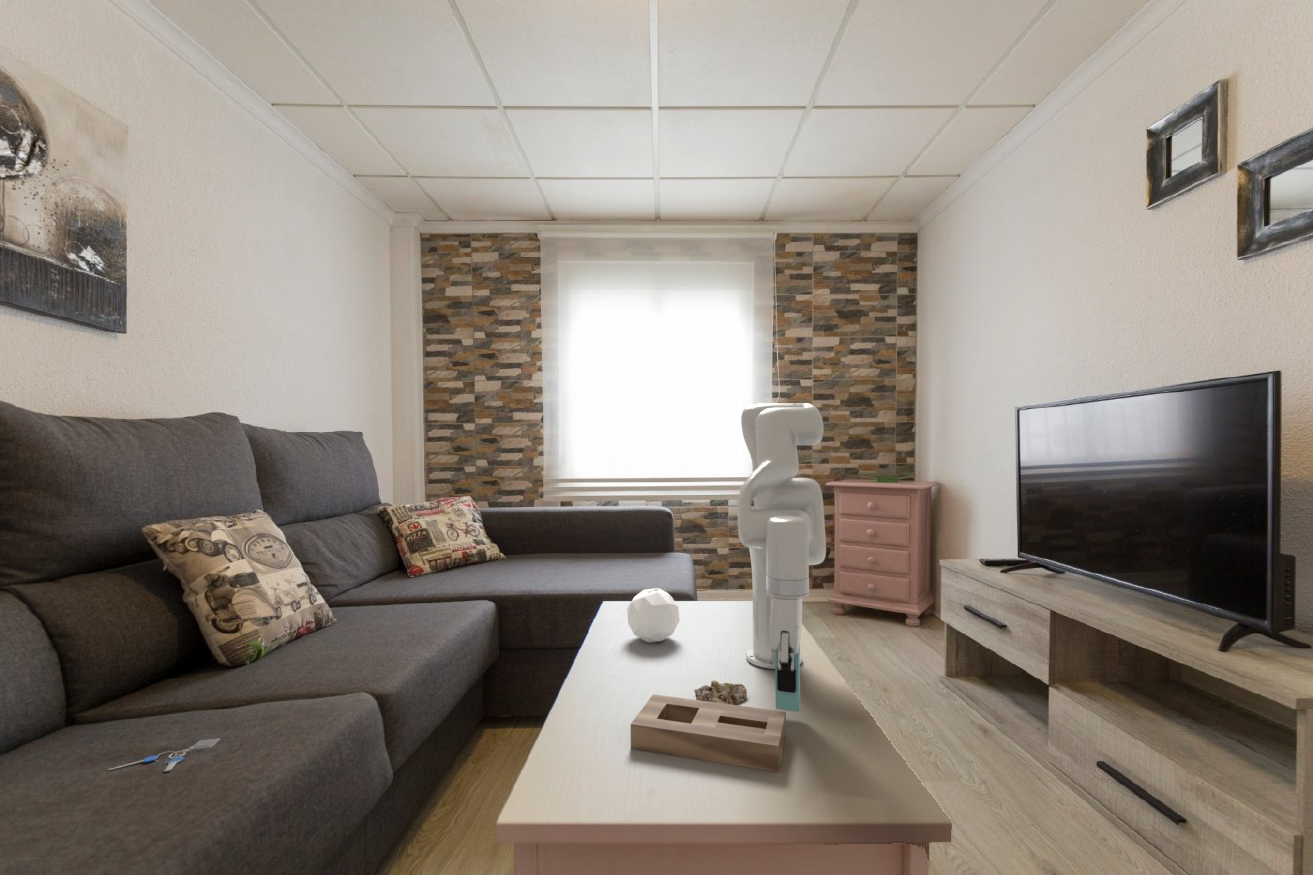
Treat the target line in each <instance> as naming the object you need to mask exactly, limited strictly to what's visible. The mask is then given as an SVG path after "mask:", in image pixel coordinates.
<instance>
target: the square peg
mask: <svg viewBox="0 0 1313 875" xmlns="http://www.w3.org/2000/svg"><path fill="white" fill-rule="evenodd" d="M789 652H792V649H789ZM800 655H801V643H800V644H799V649H798V653H797V654H796V655H794V669H795V670H796V692H795V693H791V692H783V691H778V689H777V668H778V648H777V651H776V652H775V662H776V669H775V710H778V711H785V712H786V711H790V712H796V713H799V711H800V705H801V664H800ZM788 657H789V659H790V660H791V656H788Z"/></svg>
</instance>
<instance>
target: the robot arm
mask: <svg viewBox="0 0 1313 875" xmlns="http://www.w3.org/2000/svg"><path fill="white" fill-rule="evenodd" d="M740 418H741V420H740V423H741V430H742V435H743V439H744V443H745V446H746V448H747V450H748V453H749V456H750V460H751V462H752V473H751V474H750V475H749V476H748V477H747V478H746V480H745V481H744V483H743V484H742V486H741V488H740V490H739V493H738V497H737V531H738V538H739V540H740V542H741V544H742V545H743V546H744V547H746V548H748V550H749V555H750V563H751V579H752V648H749V649H748V650H747V651H746V656H745V657H746V660H747V661H748V662H749V663H750V664H751V665H753V666H757V667H760V668H764V669H770V670H776V662H775V652H776V651H777V648H778V668H777V689H778V691H783V692H791V693H795V692H796V670H795V669H794V655H796V654H797V653H798V649H799V644H800V645H801V636H802V626H803V599H804V598H807V597H809V595H810V572H809V571H810V569H809V566H814V565H815V566H816V565H819V564H822V563H823V562H824V560H825V558H826V554H827V537H826V525H825V523H826V522H825V511H824V500H823V493H822V488H821V486H820V484H819V483H818V481H816V480H815V479H813V478H809V477H796V476H797V474H798V473H799V469H800V462H799V456H798V448H797V446H816V445H817V446H818V445H819V444H820V443H821V442H822V441H823V437H824V431H825V430H824V422H823V417H822V415H821V412H820V411H819V409H818V408H817V407H816V406H814V405H813V404H812V403H808V402H790V403H789V402H786V403H785V402H782V403H781V402H779V403H777V402H771V403H770V402H769V403H768V402H766V403H765V402H763V403H756V404H751V405H748V406H746V407H745V408H744V409H743V410H742V412H741V417H740ZM752 502H753V506H754V509H752ZM789 649H792V652H789ZM788 656H791V660H790V659H789V657H788ZM802 659H803V658H802V655H801V654H800V665H801V664H802V662H803V660H802Z"/></svg>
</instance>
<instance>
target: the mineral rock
mask: <svg viewBox="0 0 1313 875" xmlns="http://www.w3.org/2000/svg"><path fill="white" fill-rule="evenodd" d="M693 691H694V694H695V696H694V697H695V700H700V701H708V702H716V703H723V704H731V705H738V704H739V703H740V704H741V703H742V702H744V700H745V699H747V695H748V692H747V691H748V690H747V688H746V687H745V685H744V684H742V683H735V684H734V683H731V682H730V683H729V682H724V683H720V682H719V681H717V680H712V681H711V683H710V686H709V685H708V684H705V685H702V686H701V687H699V688H695V689H694V690H693Z"/></svg>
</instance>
